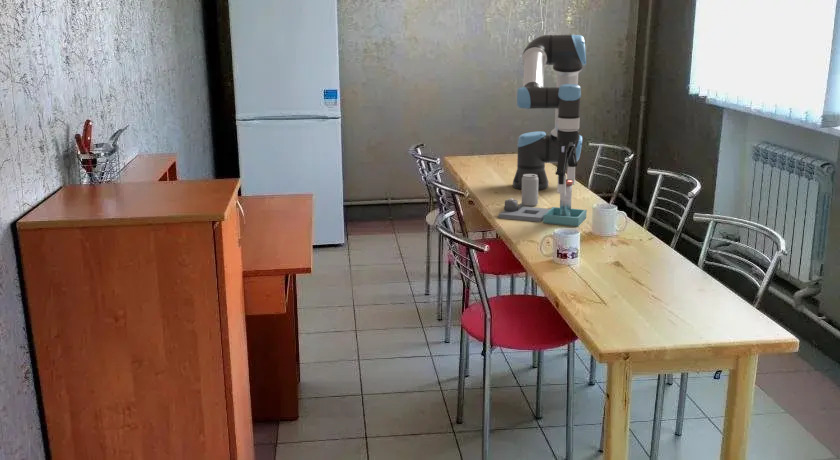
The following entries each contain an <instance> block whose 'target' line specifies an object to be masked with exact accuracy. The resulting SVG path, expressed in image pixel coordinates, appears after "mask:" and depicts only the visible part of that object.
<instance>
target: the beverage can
mask: <svg viewBox="0 0 840 460" xmlns="http://www.w3.org/2000/svg"><path fill="white" fill-rule="evenodd" d="M537 176H538V175H536V174H524V175H523V177H522V189H521V200H520V201H521V203H523V207H536V206H537V205H538V204H539V190H538V177H537ZM521 203H520V204H521Z"/></svg>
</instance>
